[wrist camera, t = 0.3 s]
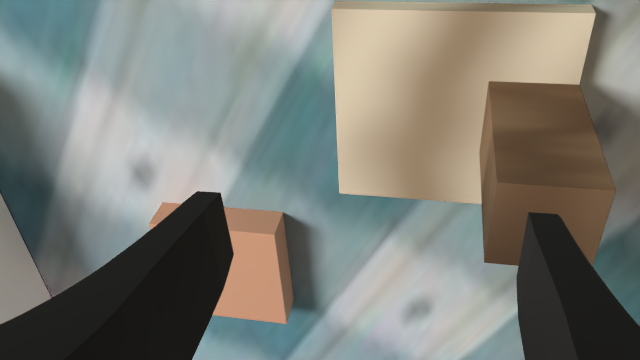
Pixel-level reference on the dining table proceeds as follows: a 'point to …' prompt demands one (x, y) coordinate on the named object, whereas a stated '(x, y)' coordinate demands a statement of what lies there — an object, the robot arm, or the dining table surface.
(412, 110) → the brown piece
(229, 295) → the tile
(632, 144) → the dining table surface
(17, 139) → the dining table surface
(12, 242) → the batten
